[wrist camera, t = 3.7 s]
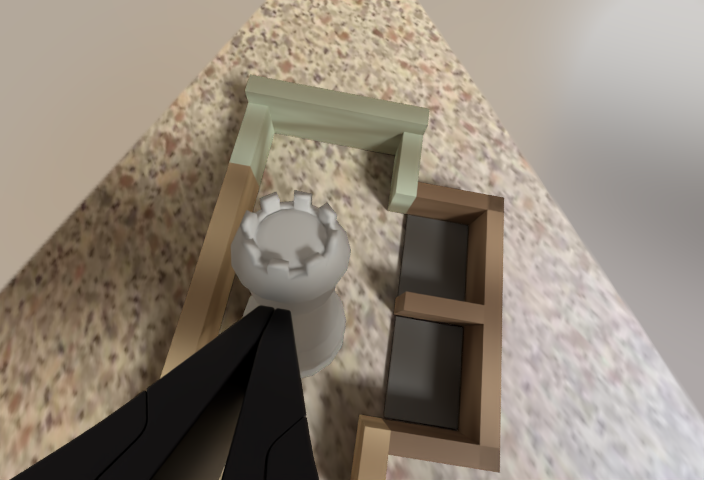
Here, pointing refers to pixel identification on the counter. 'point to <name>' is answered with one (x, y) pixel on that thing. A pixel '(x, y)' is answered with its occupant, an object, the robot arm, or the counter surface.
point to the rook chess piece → (296, 271)
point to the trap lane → (414, 286)
